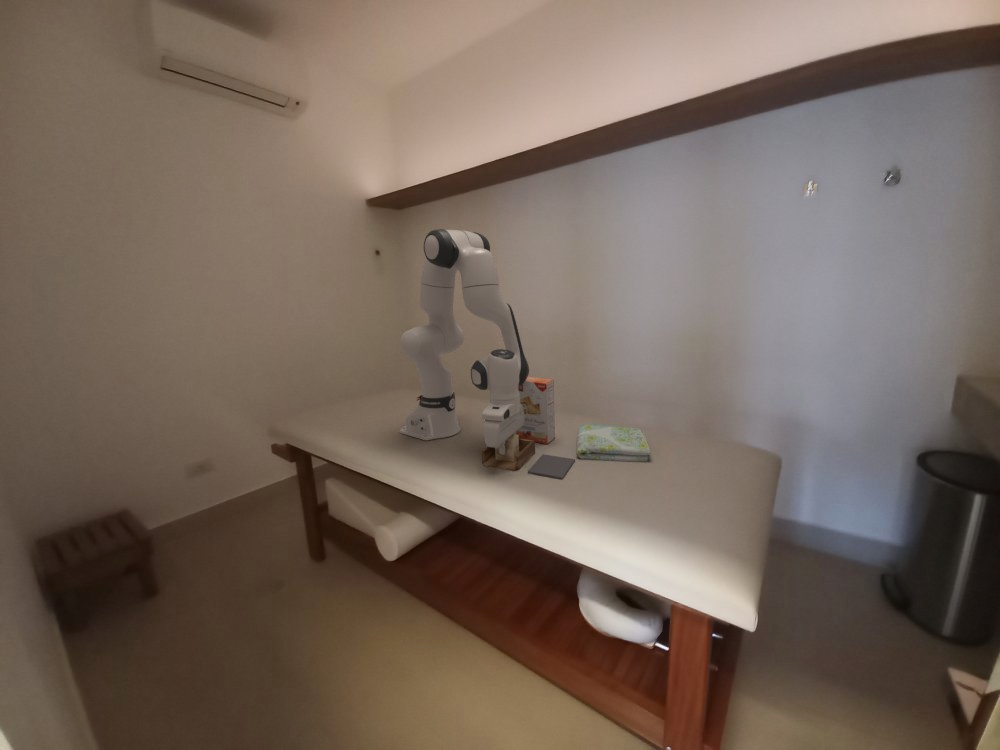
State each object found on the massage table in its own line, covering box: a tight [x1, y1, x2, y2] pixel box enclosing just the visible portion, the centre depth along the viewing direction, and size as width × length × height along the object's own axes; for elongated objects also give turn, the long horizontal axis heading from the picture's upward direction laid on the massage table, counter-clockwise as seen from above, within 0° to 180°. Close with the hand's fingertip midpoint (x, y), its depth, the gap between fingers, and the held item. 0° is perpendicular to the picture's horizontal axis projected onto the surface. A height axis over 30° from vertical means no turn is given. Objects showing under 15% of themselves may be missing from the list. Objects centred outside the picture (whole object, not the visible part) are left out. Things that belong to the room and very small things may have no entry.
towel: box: [575, 423, 652, 463], centre depth 123 cm, size 18×21×5 cm
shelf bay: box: [481, 438, 536, 472], centre depth 120 cm, size 12×14×4 cm
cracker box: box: [516, 376, 556, 445], centre depth 132 cm, size 14×6×21 cm, turn 57°
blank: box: [495, 434, 519, 462], centre depth 118 cm, size 6×4×7 cm, turn 64°
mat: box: [527, 454, 576, 480], centre depth 113 cm, size 10×12×1 cm
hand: (507, 449), depth 119 cm, fingers closed on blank, 4 cm apart
